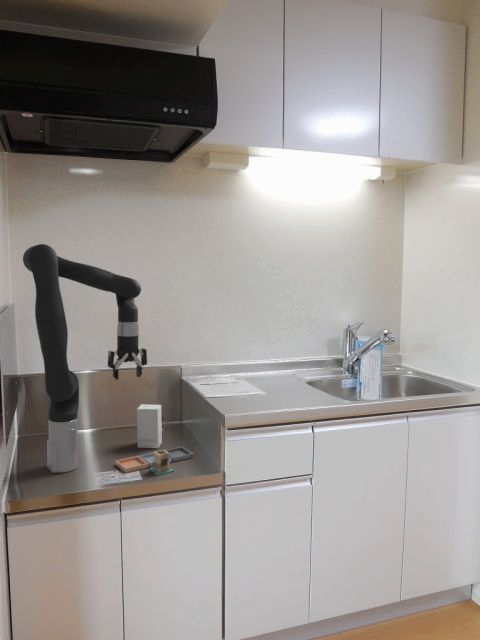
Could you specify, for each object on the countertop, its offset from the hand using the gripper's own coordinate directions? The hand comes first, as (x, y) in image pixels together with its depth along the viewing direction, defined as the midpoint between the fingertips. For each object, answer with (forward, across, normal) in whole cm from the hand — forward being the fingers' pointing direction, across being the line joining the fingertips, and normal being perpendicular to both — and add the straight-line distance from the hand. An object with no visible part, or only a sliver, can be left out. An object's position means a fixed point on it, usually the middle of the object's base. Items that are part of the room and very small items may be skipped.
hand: (127, 377), depth 190 cm
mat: (+28, +3, -22) cm, 36 cm away
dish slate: (+28, +5, -13) cm, 31 cm away
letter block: (+28, +3, -22) cm, 35 cm away
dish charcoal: (+28, +14, -13) cm, 34 cm away
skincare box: (+28, +10, +2) cm, 30 cm away
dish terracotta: (+28, -4, -13) cm, 31 cm away
